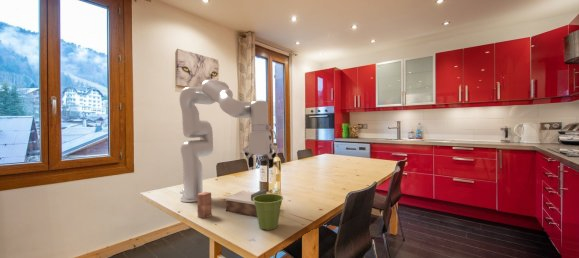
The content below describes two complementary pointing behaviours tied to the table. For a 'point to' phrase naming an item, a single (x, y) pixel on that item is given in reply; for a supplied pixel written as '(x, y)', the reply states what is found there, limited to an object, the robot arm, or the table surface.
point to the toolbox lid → (245, 196)
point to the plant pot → (268, 210)
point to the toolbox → (241, 208)
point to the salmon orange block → (204, 204)
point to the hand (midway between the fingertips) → (260, 167)
